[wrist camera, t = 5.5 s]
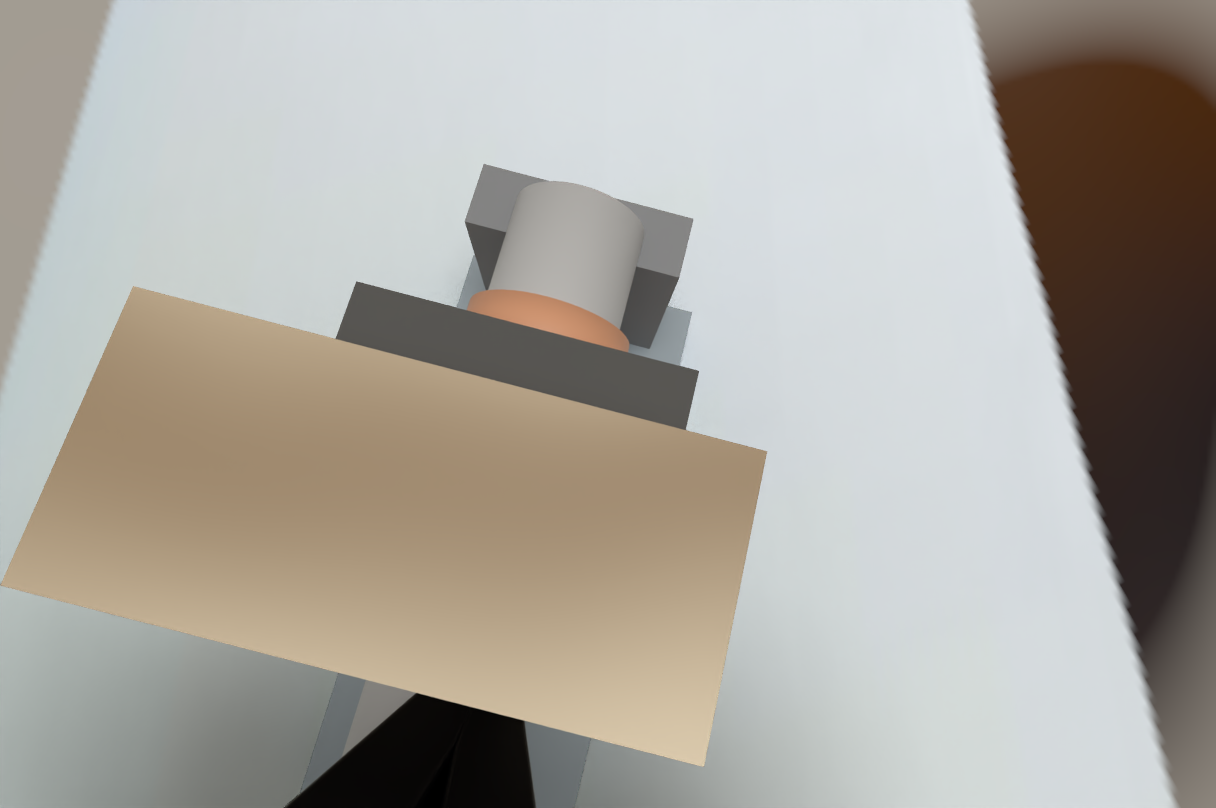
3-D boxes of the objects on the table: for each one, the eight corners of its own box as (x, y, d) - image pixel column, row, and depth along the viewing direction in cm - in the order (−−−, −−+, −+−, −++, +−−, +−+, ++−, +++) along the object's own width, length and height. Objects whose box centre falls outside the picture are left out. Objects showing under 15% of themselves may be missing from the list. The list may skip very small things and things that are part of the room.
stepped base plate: (633, 509, 17) (672, 485, 11) (406, 450, 17) (316, 392, 11) (652, 434, 18) (699, 371, 11) (430, 376, 18) (356, 281, 11)
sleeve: (615, 629, 17) (703, 766, 6) (363, 563, 17) (1, 585, 6) (642, 513, 18) (767, 451, 7) (401, 450, 18) (132, 285, 7)
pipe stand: (557, 854, 19) (551, 1106, 10) (314, 792, 19) (104, 992, 10) (683, 327, 22) (756, 188, 14) (479, 274, 22) (426, 102, 14)
